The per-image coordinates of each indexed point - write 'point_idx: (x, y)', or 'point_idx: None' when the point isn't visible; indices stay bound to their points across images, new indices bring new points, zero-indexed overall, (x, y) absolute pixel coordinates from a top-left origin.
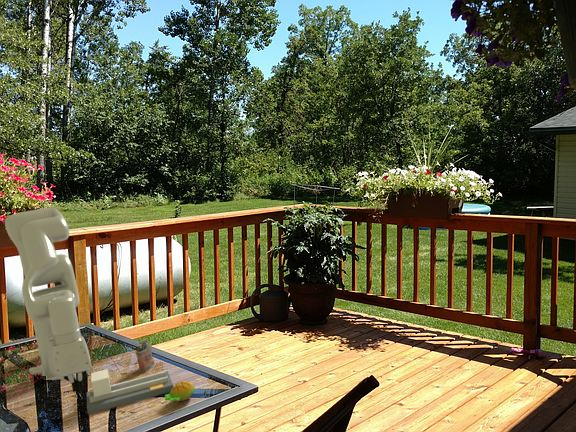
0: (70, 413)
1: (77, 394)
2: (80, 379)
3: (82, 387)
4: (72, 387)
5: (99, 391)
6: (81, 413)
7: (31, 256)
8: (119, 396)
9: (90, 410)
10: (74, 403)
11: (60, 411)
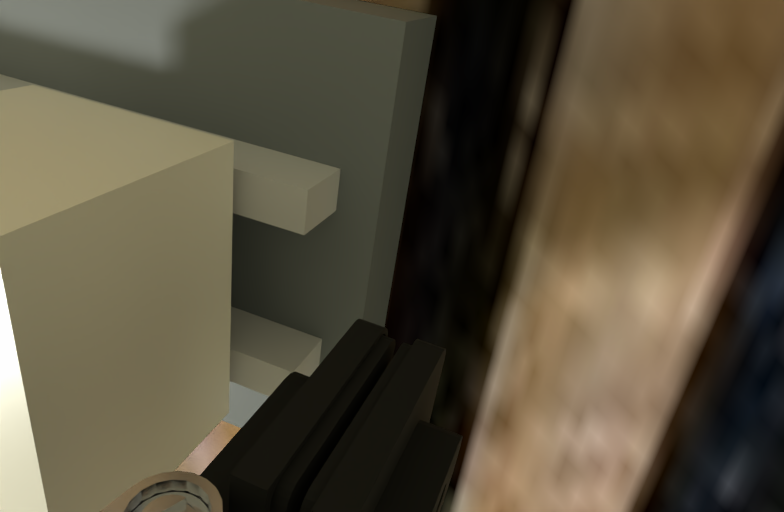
0: (617, 250)
1: (422, 342)
2: (165, 505)
3: (285, 389)
4: (433, 495)
5: (109, 136)
6: (502, 129)
7: None
8: (26, 39)
9: (382, 10)
10: (506, 438)
11: (699, 406)
